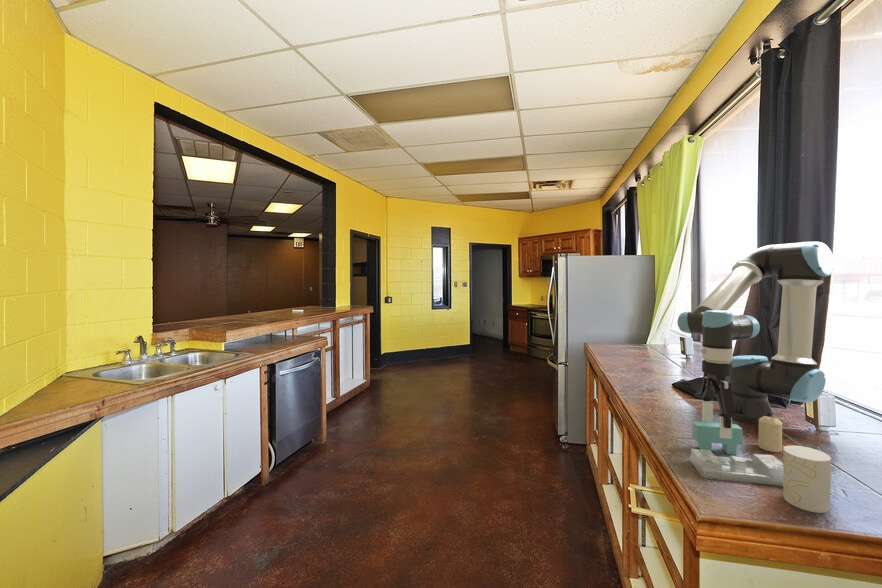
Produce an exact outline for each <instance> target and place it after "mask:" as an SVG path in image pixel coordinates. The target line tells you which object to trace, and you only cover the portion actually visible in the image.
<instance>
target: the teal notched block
mask: <svg viewBox="0 0 882 588" xmlns="http://www.w3.org/2000/svg"><path fill="white" fill-rule="evenodd" d="M743 429H744V428H742V427H741V426H739V425H738V424H733V423H732V439H728V438H720V422H717V423H716V422H706V421H692V438H693V439H694V440H695V441H696V442H697V445H698V447H697V448H699V449H703V450H710V451H711V452H712V451H713V445H712V444H719V445H720V444H721V449H722V451H724V452H725V454H727V455H735V456H736V455H738V454H737V453H738V449H737V448H738V447H737V446H743V445H744V444H743V441H744V440H743V433H744V432H743V431H744V430H743ZM712 453H713V452H712Z"/></svg>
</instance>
